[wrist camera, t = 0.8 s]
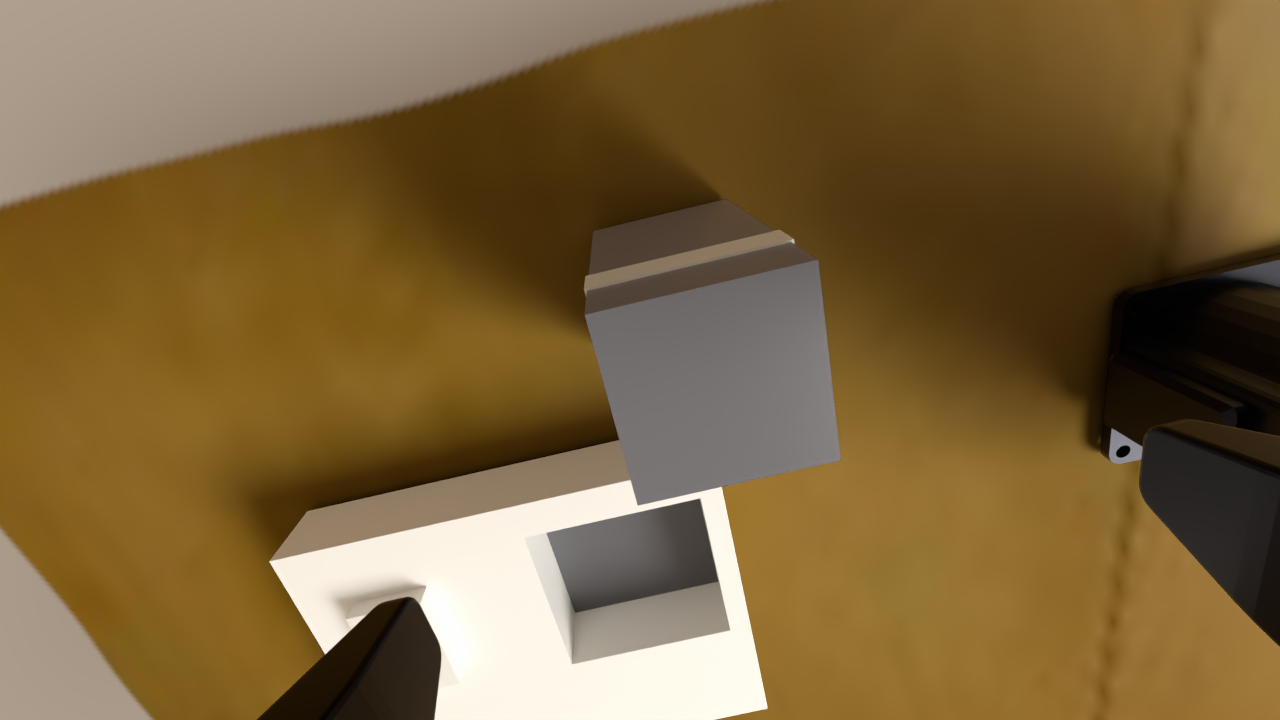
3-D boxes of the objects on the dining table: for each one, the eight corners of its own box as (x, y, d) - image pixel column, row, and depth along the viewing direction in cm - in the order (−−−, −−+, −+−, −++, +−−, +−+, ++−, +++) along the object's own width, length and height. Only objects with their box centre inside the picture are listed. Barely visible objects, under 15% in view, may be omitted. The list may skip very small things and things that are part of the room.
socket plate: (703, 421, 20) (720, 473, 17) (752, 651, 24) (772, 726, 21) (307, 511, 20) (256, 577, 17) (422, 722, 25) (398, 804, 22)
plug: (727, 196, 17) (820, 256, 10) (749, 326, 19) (843, 461, 11) (590, 229, 17) (581, 312, 10) (623, 355, 19) (635, 507, 11)
